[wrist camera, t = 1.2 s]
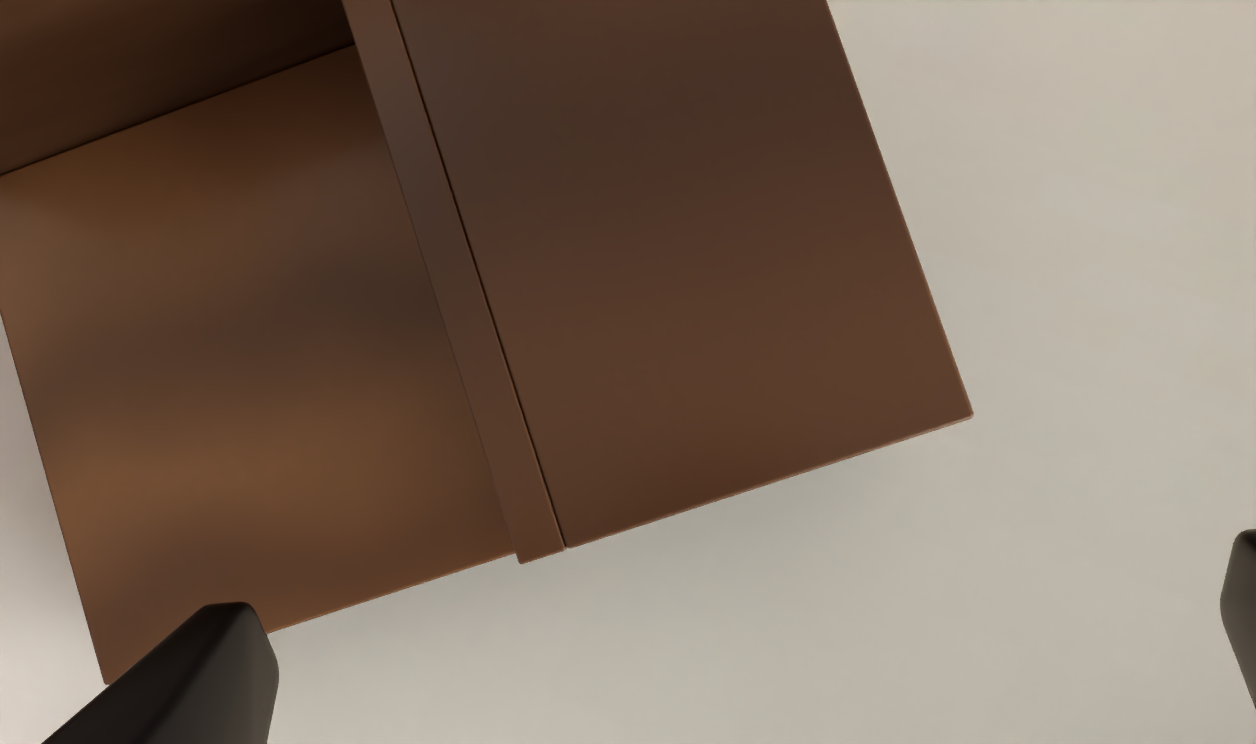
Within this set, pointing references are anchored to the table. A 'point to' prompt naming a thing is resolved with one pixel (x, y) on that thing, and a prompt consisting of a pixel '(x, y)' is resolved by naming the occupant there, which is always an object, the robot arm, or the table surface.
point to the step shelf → (435, 284)
